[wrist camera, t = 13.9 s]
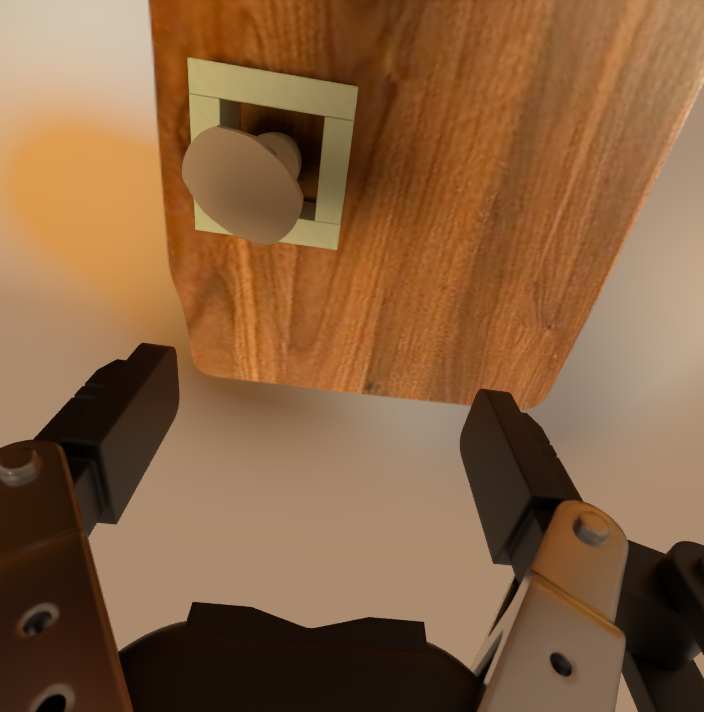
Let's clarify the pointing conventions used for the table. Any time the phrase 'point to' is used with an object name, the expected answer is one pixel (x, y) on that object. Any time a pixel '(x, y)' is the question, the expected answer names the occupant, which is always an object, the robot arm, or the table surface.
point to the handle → (246, 181)
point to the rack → (283, 91)
